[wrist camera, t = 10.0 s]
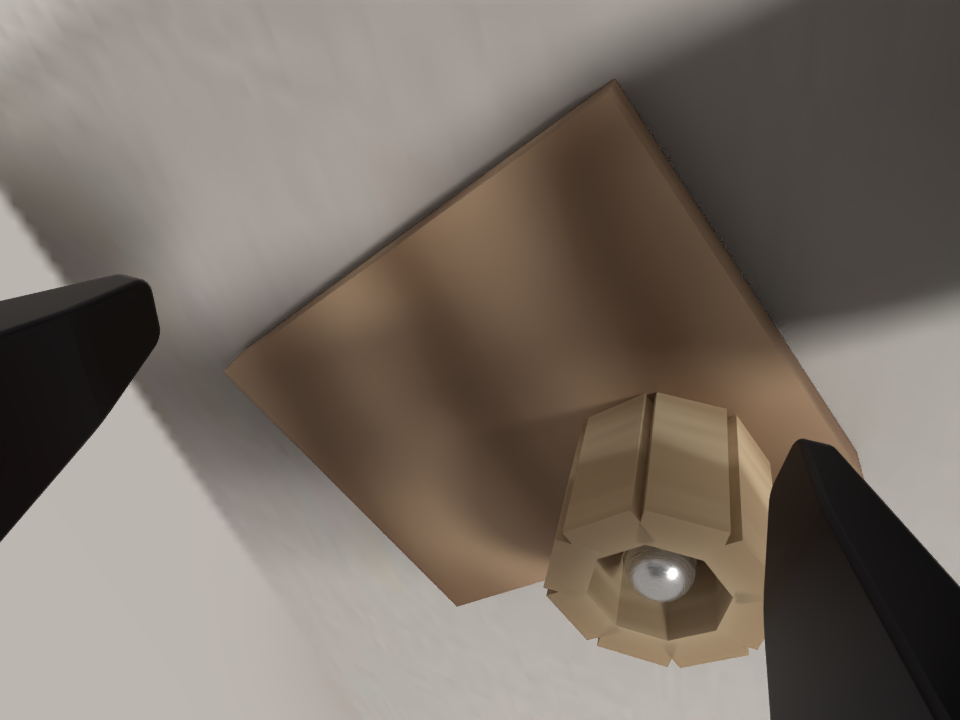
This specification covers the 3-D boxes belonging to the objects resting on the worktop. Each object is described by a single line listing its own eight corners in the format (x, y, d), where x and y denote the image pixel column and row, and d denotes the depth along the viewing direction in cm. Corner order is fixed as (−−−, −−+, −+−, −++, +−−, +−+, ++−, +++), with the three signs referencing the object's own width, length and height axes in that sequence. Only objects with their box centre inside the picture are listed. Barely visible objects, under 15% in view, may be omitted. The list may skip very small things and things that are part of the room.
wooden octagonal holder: (703, 367, 20) (701, 485, 16) (799, 504, 22) (819, 641, 18) (540, 438, 23) (505, 552, 19) (636, 553, 25) (623, 678, 21)
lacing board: (614, 78, 18) (608, 92, 17) (856, 451, 22) (865, 484, 21) (244, 349, 27) (222, 371, 26) (466, 578, 31) (456, 606, 30)
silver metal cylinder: (677, 437, 22) (670, 561, 18) (709, 480, 22) (709, 608, 18) (623, 458, 23) (605, 579, 19) (655, 499, 24) (644, 624, 20)
